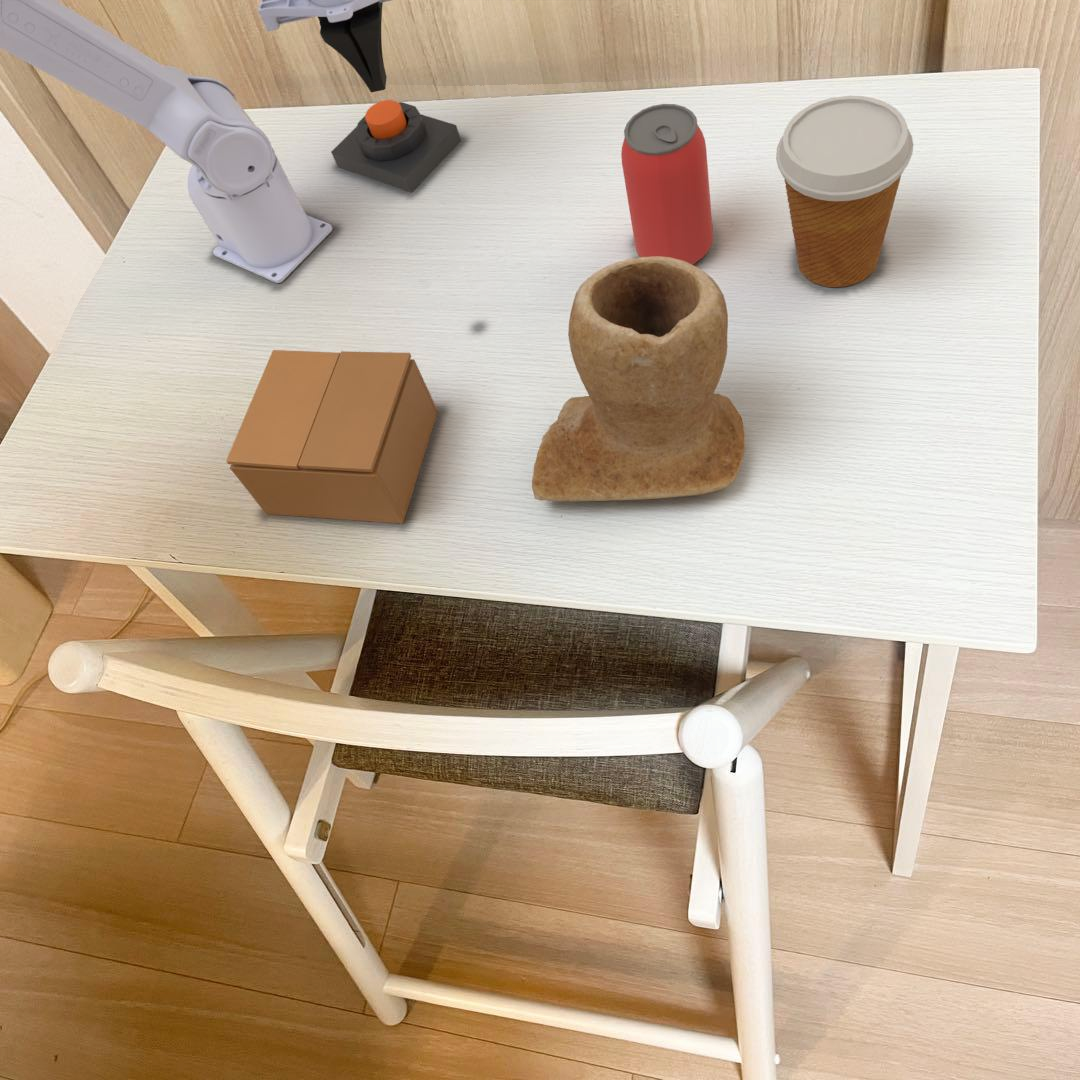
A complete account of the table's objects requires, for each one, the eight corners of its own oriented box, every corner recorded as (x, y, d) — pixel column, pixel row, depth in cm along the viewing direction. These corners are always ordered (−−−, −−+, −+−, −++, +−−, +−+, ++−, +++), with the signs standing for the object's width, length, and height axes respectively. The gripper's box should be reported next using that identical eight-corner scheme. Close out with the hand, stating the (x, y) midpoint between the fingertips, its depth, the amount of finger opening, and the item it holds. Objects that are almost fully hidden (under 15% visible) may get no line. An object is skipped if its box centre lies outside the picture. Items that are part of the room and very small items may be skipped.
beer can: (661, 286, 86) (644, 168, 76) (622, 242, 89) (601, 124, 79) (728, 249, 86) (721, 128, 76) (687, 208, 90) (674, 86, 80)
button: (363, 134, 100) (357, 119, 98) (386, 111, 101) (381, 96, 99) (391, 143, 98) (385, 128, 97) (414, 120, 99) (408, 104, 98)
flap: (228, 464, 76) (225, 461, 76) (274, 352, 81) (272, 349, 81) (298, 469, 74) (296, 466, 74) (341, 355, 80) (339, 352, 79)
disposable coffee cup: (763, 294, 83) (760, 173, 73) (794, 212, 87) (795, 87, 77) (884, 311, 80) (898, 186, 70) (911, 224, 84) (928, 95, 74)
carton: (265, 514, 82) (224, 461, 76) (307, 406, 87) (272, 349, 81) (403, 523, 78) (371, 470, 72) (438, 411, 83) (411, 352, 77)
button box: (337, 167, 103) (324, 138, 100) (387, 118, 106) (376, 87, 103) (411, 193, 98) (400, 163, 96) (461, 141, 101) (451, 110, 98)
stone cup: (745, 379, 79) (737, 229, 66) (745, 510, 73) (737, 372, 60) (552, 389, 82) (510, 248, 70) (537, 515, 76) (488, 385, 64)
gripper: (228, -21, 80) (297, 127, 91) (407, -61, 78) (455, 96, 89) (240, -69, 84) (305, 79, 95) (411, -109, 81) (457, 47, 93)
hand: (378, 84), depth 92 cm, fingers closed
